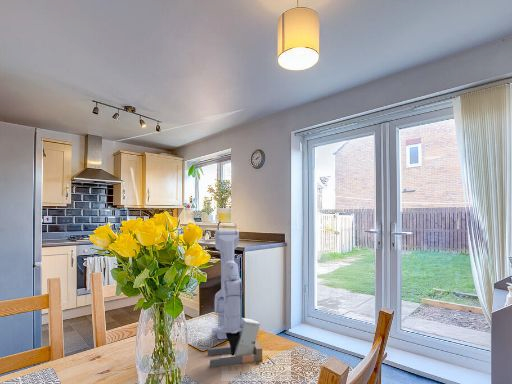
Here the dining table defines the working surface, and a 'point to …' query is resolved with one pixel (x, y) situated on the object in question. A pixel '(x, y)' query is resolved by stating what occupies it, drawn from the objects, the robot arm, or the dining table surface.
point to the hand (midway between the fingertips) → (232, 354)
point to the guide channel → (235, 359)
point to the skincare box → (247, 337)
